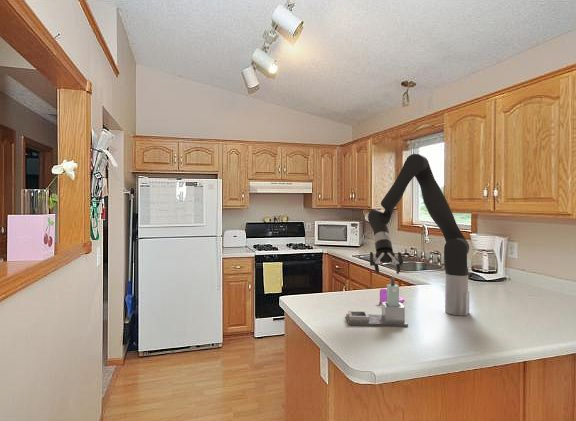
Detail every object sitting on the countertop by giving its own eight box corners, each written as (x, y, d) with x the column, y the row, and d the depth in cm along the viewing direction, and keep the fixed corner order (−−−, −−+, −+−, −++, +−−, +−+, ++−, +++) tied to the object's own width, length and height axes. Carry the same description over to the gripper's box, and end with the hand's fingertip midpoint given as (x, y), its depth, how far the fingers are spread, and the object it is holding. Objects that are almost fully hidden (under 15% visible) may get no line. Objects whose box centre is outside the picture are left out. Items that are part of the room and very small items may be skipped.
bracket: (388, 305, 173) (388, 291, 173) (379, 302, 178) (379, 288, 177) (406, 301, 180) (406, 287, 179) (398, 299, 184) (398, 285, 184)
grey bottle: (396, 308, 150) (396, 277, 150) (399, 311, 146) (399, 279, 145) (386, 308, 151) (386, 276, 150) (389, 311, 146) (389, 279, 146)
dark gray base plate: (400, 317, 154) (400, 300, 154) (407, 326, 142) (407, 309, 142) (346, 316, 156) (346, 300, 156) (348, 325, 144) (348, 308, 144)
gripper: (368, 238, 167) (372, 267, 155) (400, 238, 166) (406, 268, 154) (366, 248, 172) (370, 277, 161) (397, 248, 171) (403, 277, 160)
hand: (388, 272), depth 158 cm, fingers open, 8 cm apart
